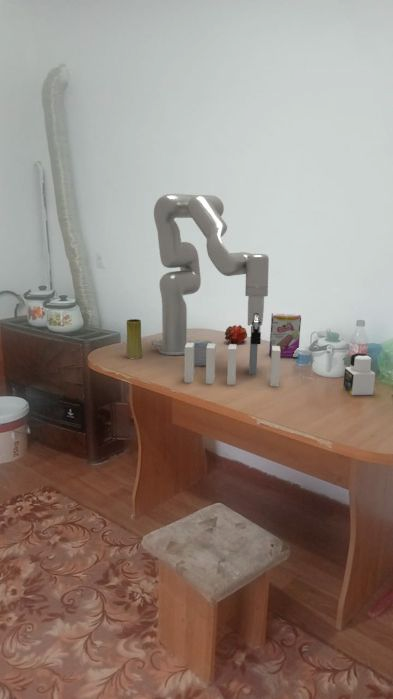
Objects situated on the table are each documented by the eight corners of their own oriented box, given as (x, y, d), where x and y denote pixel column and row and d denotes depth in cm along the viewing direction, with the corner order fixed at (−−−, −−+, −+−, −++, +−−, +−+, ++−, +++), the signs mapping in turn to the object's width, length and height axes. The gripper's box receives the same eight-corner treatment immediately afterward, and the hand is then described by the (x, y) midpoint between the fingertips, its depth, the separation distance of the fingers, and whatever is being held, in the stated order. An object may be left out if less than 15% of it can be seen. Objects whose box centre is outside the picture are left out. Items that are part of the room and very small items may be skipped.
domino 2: (205, 383, 169) (206, 347, 166) (207, 377, 174) (207, 343, 171) (213, 383, 168) (214, 348, 165) (214, 378, 174) (215, 343, 171)
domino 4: (249, 374, 179) (250, 340, 176) (249, 369, 185) (250, 336, 181) (256, 374, 179) (257, 340, 175) (256, 369, 184) (257, 336, 181)
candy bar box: (269, 357, 200) (271, 315, 195) (268, 353, 204) (271, 313, 200) (298, 358, 199) (301, 316, 194) (297, 354, 203) (300, 313, 199)
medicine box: (208, 362, 192) (209, 339, 190) (212, 365, 188) (213, 342, 186) (188, 363, 190) (188, 340, 188) (191, 367, 186) (192, 343, 184)
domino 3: (227, 384, 168) (228, 348, 165) (228, 378, 174) (229, 344, 171) (234, 384, 168) (236, 349, 165) (235, 378, 174) (236, 344, 170)
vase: (145, 355, 199) (144, 319, 196) (138, 360, 194) (137, 322, 190) (130, 354, 201) (129, 318, 198) (123, 358, 196) (122, 321, 192)
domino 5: (270, 386, 167) (272, 350, 163) (270, 380, 172) (271, 345, 169) (278, 386, 166) (280, 350, 163) (277, 380, 172) (279, 346, 169)
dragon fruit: (222, 348, 218) (243, 348, 225) (235, 340, 211) (256, 340, 219) (217, 330, 220) (238, 330, 228) (229, 321, 214) (250, 322, 222)
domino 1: (184, 382, 169) (184, 347, 166) (186, 376, 175) (186, 342, 172) (192, 382, 169) (192, 347, 166) (194, 377, 175) (194, 342, 172)
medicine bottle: (342, 387, 166) (346, 351, 163) (364, 387, 167) (368, 351, 164) (351, 395, 159) (354, 358, 156) (373, 395, 160) (377, 358, 157)
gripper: (245, 287, 183) (245, 335, 187) (245, 294, 166) (244, 346, 170) (267, 288, 182) (265, 335, 186) (268, 295, 165) (267, 346, 169)
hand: (255, 340), depth 178 cm, fingers open, 9 cm apart
